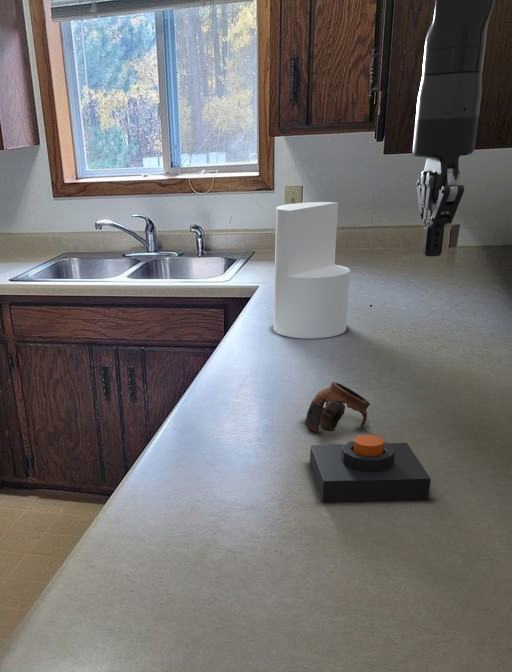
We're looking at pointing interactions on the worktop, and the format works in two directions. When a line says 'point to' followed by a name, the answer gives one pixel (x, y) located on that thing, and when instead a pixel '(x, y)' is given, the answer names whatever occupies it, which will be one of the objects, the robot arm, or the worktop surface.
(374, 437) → the power button
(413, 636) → the worktop surface
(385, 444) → the push button base
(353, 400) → the broken clay vessel
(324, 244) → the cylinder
